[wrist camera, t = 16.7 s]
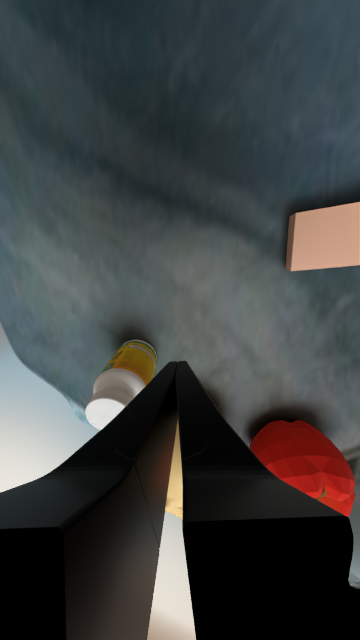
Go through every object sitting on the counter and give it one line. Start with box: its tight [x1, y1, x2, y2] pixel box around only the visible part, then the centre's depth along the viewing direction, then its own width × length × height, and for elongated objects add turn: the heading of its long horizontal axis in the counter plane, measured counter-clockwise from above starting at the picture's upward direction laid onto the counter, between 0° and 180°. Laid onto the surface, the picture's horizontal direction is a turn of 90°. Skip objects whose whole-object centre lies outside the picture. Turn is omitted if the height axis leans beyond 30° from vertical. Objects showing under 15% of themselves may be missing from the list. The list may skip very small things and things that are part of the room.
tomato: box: [250, 420, 355, 516], centre depth 24 cm, size 11×12×9 cm
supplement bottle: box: [85, 340, 157, 430], centre depth 20 cm, size 5×5×10 cm
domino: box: [285, 202, 360, 271], centre depth 16 cm, size 5×2×9 cm
